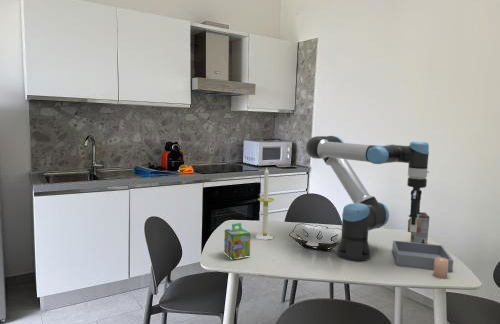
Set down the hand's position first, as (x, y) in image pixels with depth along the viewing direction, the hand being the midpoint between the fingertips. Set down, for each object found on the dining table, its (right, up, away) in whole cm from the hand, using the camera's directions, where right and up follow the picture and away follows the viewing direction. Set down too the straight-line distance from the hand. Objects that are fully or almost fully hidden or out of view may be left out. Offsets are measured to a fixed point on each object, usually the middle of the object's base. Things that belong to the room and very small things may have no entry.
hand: (413, 230), depth 162 cm
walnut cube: (0, 0, 0) cm, 1 cm away
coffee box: (+14, -13, +26) cm, 32 cm away
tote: (+5, -15, +5) cm, 16 cm away
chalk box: (-78, -13, +5) cm, 79 cm away
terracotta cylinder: (+6, -16, -11) cm, 21 cm away
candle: (-64, -10, +33) cm, 73 cm away
